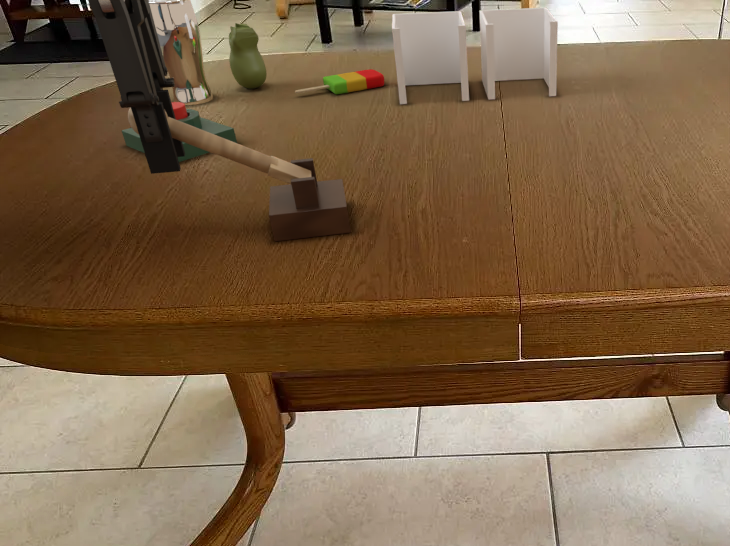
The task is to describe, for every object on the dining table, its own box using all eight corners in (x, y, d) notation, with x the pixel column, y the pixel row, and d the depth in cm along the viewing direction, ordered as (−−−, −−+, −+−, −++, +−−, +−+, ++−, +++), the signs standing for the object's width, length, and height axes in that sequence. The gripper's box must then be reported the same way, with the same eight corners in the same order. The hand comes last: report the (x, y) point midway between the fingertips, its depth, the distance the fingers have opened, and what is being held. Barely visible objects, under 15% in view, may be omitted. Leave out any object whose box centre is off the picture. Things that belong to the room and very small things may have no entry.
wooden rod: (120, 134, 71) (129, 99, 69) (127, 122, 74) (135, 88, 72) (305, 202, 79) (316, 171, 77) (304, 189, 82) (315, 159, 80)
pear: (259, 81, 129) (246, 18, 123) (275, 87, 126) (263, 23, 120) (230, 88, 126) (215, 24, 120) (246, 94, 123) (231, 29, 117)
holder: (274, 241, 79) (262, 187, 75) (275, 211, 85) (264, 160, 81) (350, 232, 80) (342, 179, 76) (346, 203, 86) (338, 152, 83)
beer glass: (194, 92, 124) (167, -8, 115) (225, 96, 122) (200, -5, 113) (162, 103, 119) (131, 0, 110) (194, 108, 117) (165, 3, 108)
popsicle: (387, 86, 125) (386, 74, 124) (301, 101, 119) (299, 89, 118) (374, 79, 129) (373, 67, 128) (290, 93, 123) (288, 81, 122)
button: (155, 119, 101) (151, 106, 100) (179, 113, 103) (175, 100, 102) (169, 124, 99) (165, 111, 98) (193, 117, 101) (189, 104, 100)
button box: (126, 146, 104) (116, 117, 101) (190, 127, 110) (182, 99, 107) (172, 164, 97) (163, 134, 95) (237, 143, 103) (230, 114, 101)
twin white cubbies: (545, 77, 128) (546, 7, 121) (556, 96, 119) (557, 21, 112) (399, 85, 125) (392, 14, 119) (399, 104, 117) (391, 28, 110)
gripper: (119, -108, 55) (199, 191, 69) (151, -120, 68) (213, 134, 82) (9, -106, 54) (114, 199, 68) (63, -118, 67) (142, 139, 81)
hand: (168, 163), depth 75 cm, fingers closed on wooden rod, 4 cm apart
